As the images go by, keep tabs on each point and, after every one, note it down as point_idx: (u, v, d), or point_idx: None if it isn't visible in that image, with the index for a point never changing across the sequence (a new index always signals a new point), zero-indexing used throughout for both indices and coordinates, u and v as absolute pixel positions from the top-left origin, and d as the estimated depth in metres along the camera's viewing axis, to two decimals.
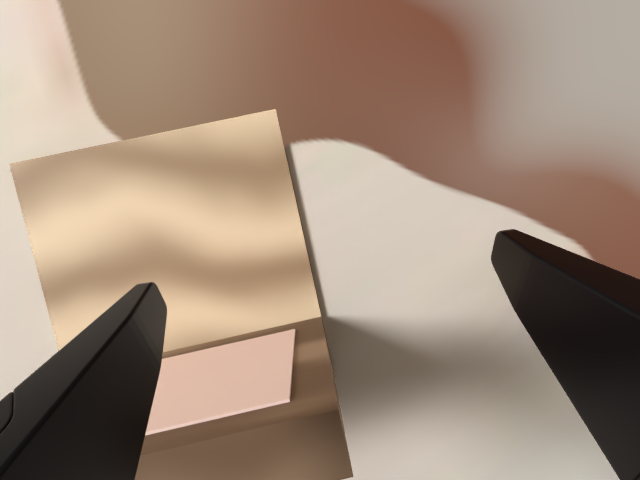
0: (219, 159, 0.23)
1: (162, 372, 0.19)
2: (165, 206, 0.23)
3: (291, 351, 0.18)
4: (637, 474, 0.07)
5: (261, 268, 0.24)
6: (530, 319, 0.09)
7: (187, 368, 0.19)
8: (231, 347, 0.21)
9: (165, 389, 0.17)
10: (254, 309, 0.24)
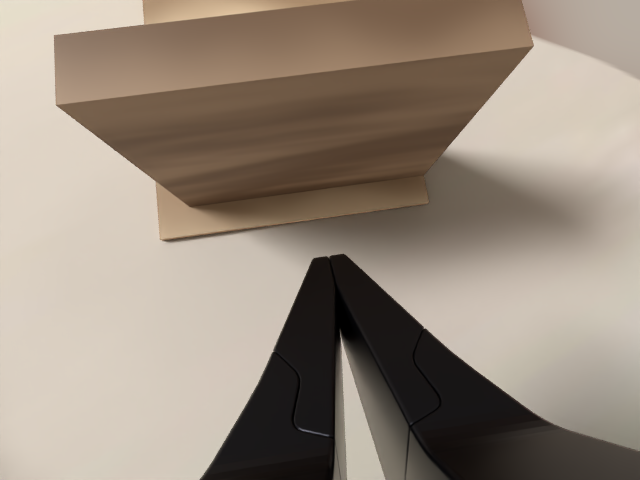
0: None
1: None
2: None
3: None
4: None
5: None
6: (346, 347, 0.08)
7: None
8: None
9: None
10: None
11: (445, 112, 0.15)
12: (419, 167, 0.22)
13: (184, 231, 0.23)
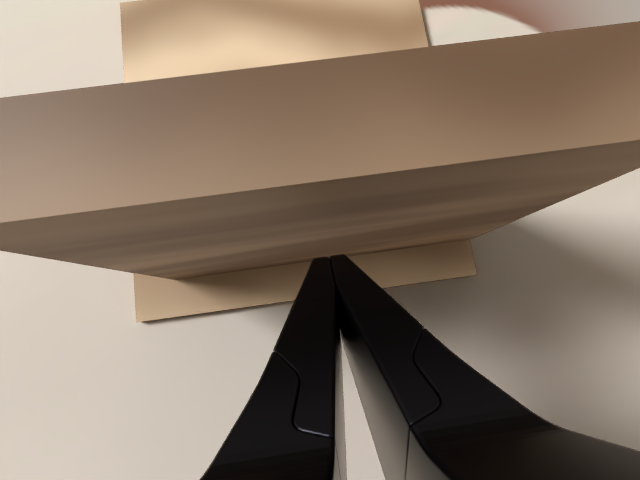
0: (348, 13, 0.21)
1: None
2: (282, 56, 0.20)
3: None
4: None
5: None
6: (346, 347, 0.08)
7: None
8: None
9: None
10: None
11: (536, 196, 0.10)
12: (468, 235, 0.17)
13: (166, 312, 0.18)
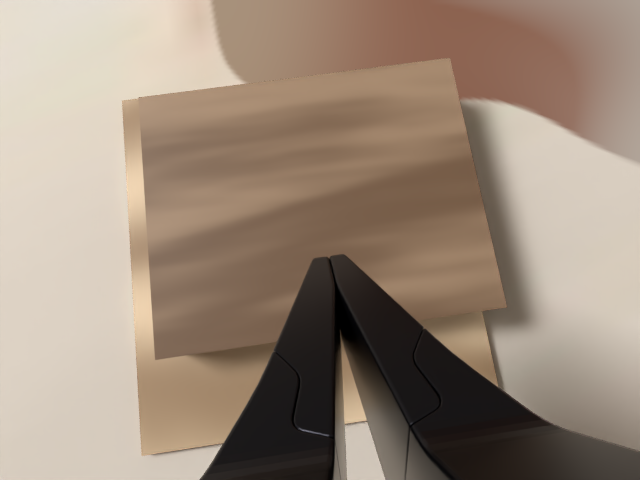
0: None
1: None
2: None
3: None
4: None
5: None
6: (346, 347, 0.08)
7: None
8: None
9: None
10: None
11: (434, 134, 0.17)
12: (482, 272, 0.16)
13: (174, 444, 0.17)
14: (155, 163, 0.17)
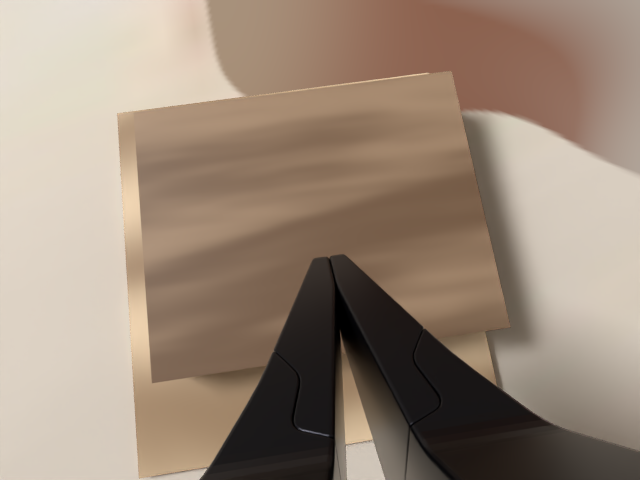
0: None
1: None
2: None
3: None
4: None
5: None
6: (346, 347, 0.08)
7: None
8: None
9: None
10: None
11: (436, 149, 0.17)
12: (485, 292, 0.16)
13: (172, 466, 0.17)
14: (151, 180, 0.16)
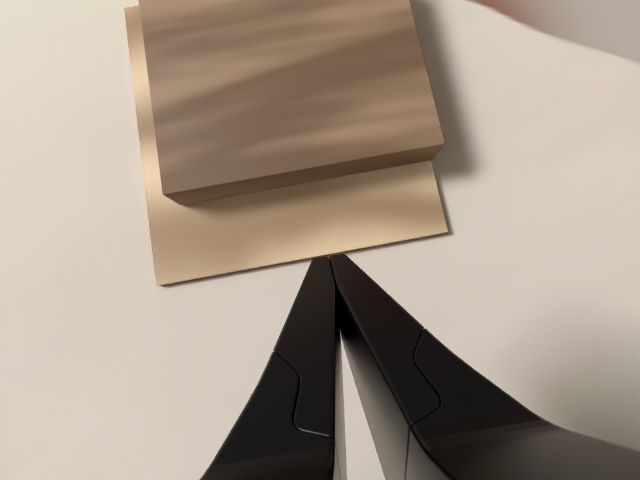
0: None
1: None
2: None
3: None
4: None
5: None
6: (346, 347, 0.08)
7: None
8: None
9: None
10: None
11: (384, 10, 0.20)
12: (424, 117, 0.19)
13: (182, 276, 0.21)
14: (154, 44, 0.20)
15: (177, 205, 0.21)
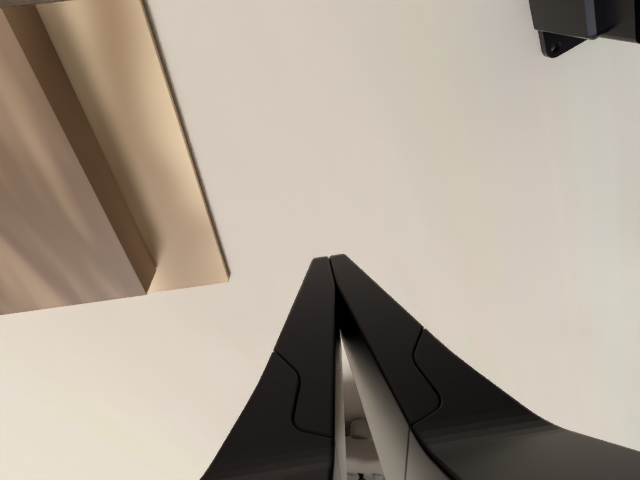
0: None
1: None
2: None
3: None
4: None
5: None
6: (346, 347, 0.08)
7: None
8: None
9: None
10: None
11: None
12: None
13: (219, 265, 0.25)
14: None
15: (157, 271, 0.25)
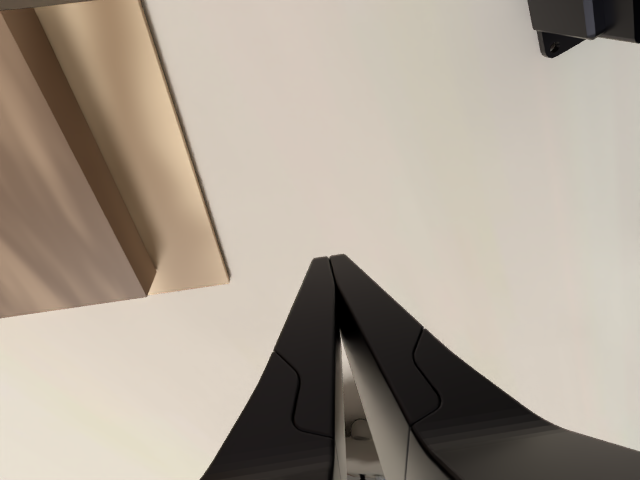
0: None
1: None
2: None
3: None
4: None
5: None
6: (346, 347, 0.08)
7: None
8: None
9: None
10: None
11: None
12: None
13: (219, 267, 0.25)
14: None
15: (157, 273, 0.25)
